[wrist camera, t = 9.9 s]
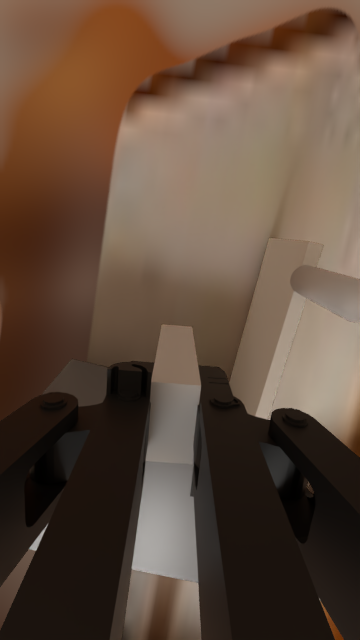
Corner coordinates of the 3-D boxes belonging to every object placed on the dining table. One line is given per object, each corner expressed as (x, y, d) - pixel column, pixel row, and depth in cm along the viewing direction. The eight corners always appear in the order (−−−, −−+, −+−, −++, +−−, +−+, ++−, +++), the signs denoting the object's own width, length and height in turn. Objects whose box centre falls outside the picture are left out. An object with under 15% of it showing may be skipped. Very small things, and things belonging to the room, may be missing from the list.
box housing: (198, 498, 40) (204, 584, 30) (51, 465, 38) (8, 544, 29) (232, 397, 36) (252, 458, 26) (71, 358, 35) (30, 408, 25)
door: (221, 394, 36) (256, 535, 19) (264, 236, 31) (357, 244, 15) (239, 397, 36) (289, 540, 19) (284, 241, 31) (399, 253, 15)
